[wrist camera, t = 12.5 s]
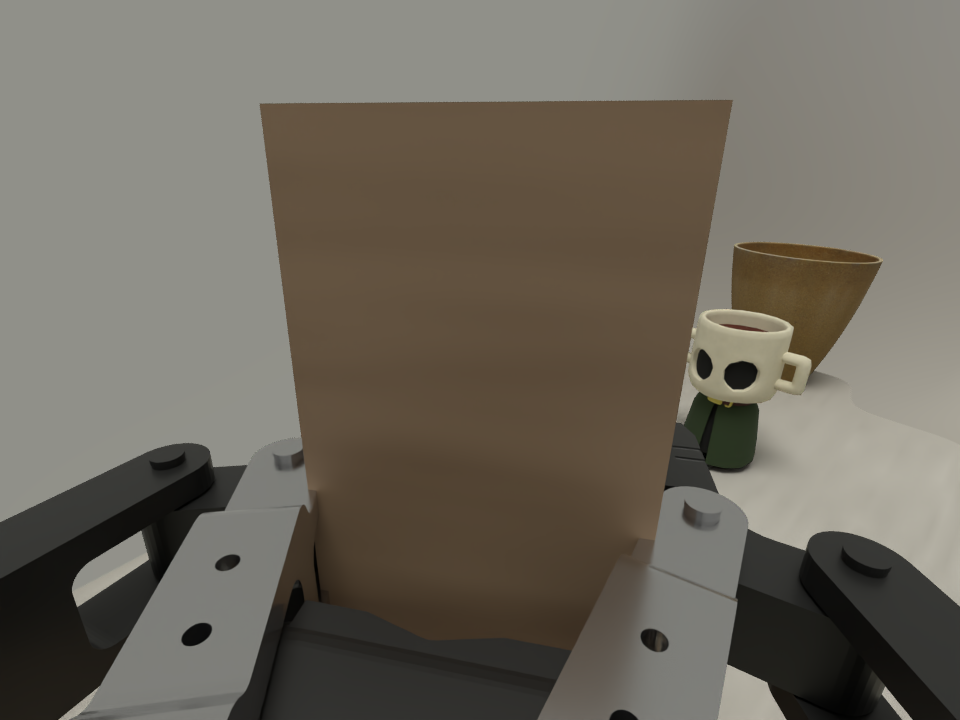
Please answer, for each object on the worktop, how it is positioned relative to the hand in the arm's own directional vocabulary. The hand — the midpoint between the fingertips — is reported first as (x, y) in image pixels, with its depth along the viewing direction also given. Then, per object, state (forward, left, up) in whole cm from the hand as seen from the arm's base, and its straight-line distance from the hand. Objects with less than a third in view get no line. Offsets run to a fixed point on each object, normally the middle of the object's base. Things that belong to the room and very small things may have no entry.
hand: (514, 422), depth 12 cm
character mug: (+36, +2, -19) cm, 41 cm away
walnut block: (-2, -1, -10) cm, 10 cm away
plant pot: (+61, +2, -19) cm, 64 cm away
